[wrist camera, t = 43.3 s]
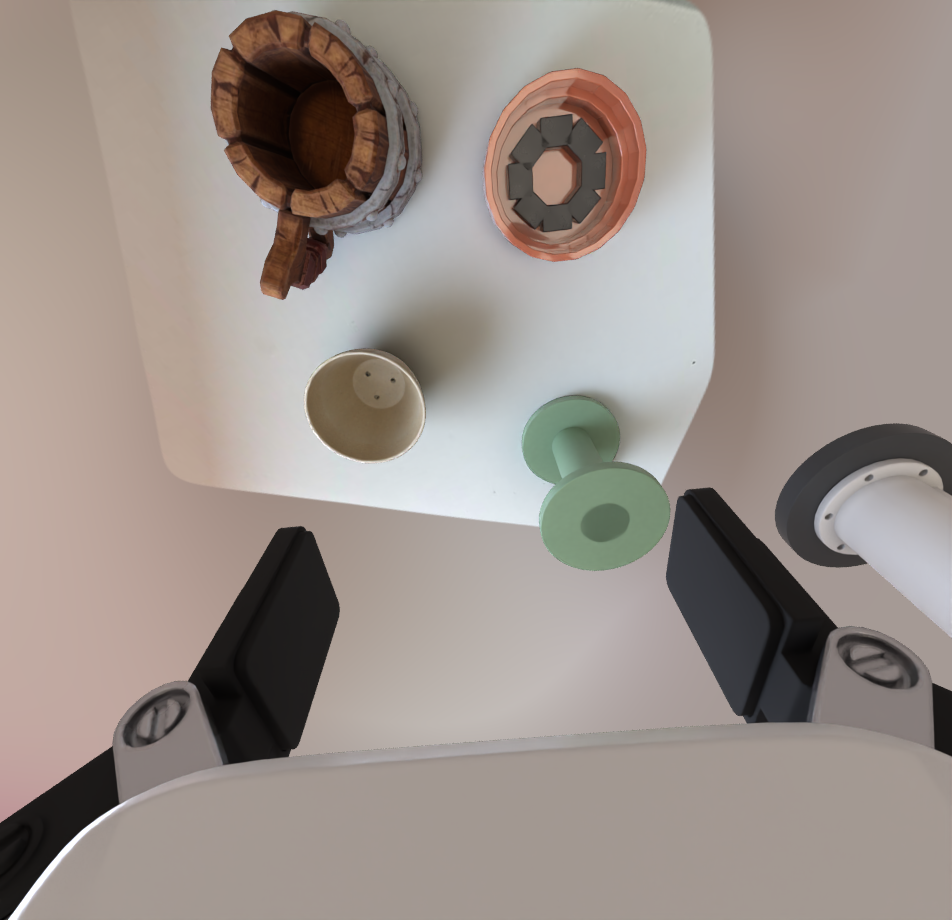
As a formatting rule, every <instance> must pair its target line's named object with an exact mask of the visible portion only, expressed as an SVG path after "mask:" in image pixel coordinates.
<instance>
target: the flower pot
mask: <svg viewBox="0 0 952 920" xmlns="http://www.w3.org/2000/svg"><path fill="white" fill-rule="evenodd" d="M366 374H368V375H369V376H367V375H366ZM392 378H394V380H391V379H392ZM377 396H379V398H377ZM304 408H305V413H306V417H307V420H308V422H309V424H310V427H311V428H312V430H313V432H314V433H315V435H316V436H317V437H318V439H319V440H320V441H321V442H322V443H323V444H324V445H325V446H326V447H328V448H329V449H330V450H332V451H333V452H335V453H336V454H338V455H340V456H342V457H344V458H346V459H349V460H352V461H356V462H361V463H382V462H387V461H390V460H393V459H395V458H398V457H400V456H401V455H403V454H405V453H406V452H407V451H409V450H410V449H411V448H412V447H413V445H414V444H415V443H416V442H417V440H418V439H419V437H420V435H421V433H422V431H423V428H424V424H425V418H426V408H425V400H424V395H423V392H422V389H421V387H420V384H419V382H418V380H417V378H416V377H415V375H414V374H413V372H412V371H411V370H410V368H409V367H408V366H407V365H406V364H405V363H404V362H402V361H401V360H400V359H398V358H397V357H395V356H393V355H392V354H389V353H387V352H384V351H381V350H376V349H366V348H365V349H354V350H349V351H345V352H342V353H340V354H337V355H335V356H333V357H331V358H329V359H328V360H326V361H325V362H323V363H322V364H321V365H320V366H319V367H318V368H317V369H316V370H315V371H314V372H313V373H312V375H311V377H310V379H309V381H308V383H307V386H306V390H305V395H304Z"/></svg>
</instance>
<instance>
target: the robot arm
mask: <svg viewBox="0 0 952 920" xmlns="http://www.w3.org/2000/svg"><path fill="white" fill-rule="evenodd" d="M814 527H815V532H816V534H817V536H818V538H819V539H820V540H821V541H822V542H823V543H824V544H825V545H826V546H827V547H829V548H830V549H832V550H834V551H836V552H839V553H843V554H852V555H859V556H860V557H861V558H862V559H864V560H865V561H866V562H867V563H868V564H870V566H871V567H873V568H874V569H875V570H876V571H877V572H878V573H879V574H881V575H882V576H883V577H884V578H885V579H886V580H887V581H888V582H889V583H890V584H892V585H893V586H894V587H895V588H896V589H897V590H898V591H899V592H901V593H902V594H903V595H904V596H905V597H906V598H907V599H908V600H910V601H911V602H912V603H913V604H914V605H915V606H916V607H917V608H918V609H920V610H921V611H922V612H923V613H924V614H925V615H926V616H927V617H928V618H930V619H931V620H932V621H933V622H934V623H935V624H936V625H938V627H940V628H941V629H942V630H943V631H944V632H945V633H946V634H948V635H949V636H950V637H951V638H952V496H951V495H950V494H948V493H946V492H945V491H943V483H942V479H941V477H940V476H939V474H938V473H937V472H936V471H935V470H934V469H932V468H931V467H929V466H927V465H926V464H924V463H922V462H920V461H916V460H913V459H904V458H898V459H888V460H884V461H880V462H876V463H873V464H870V465H868V466H865V467H863V468H861V469H859V470H857V471H855V472H853V473H851V474H850V475H848V476H847V477H845V478H844V479H842V480H841V481H840V482H839V483H838V484H836V485H835V486H834V487H833V488H832V489H831V490H830V491H829V492H828V494H827V495H826V496H825V497H824V499H823V500H822V502H821V503H820V505H819V507H818V509H817V512H816V514H815V520H814ZM666 580H667V585H668V588H669V590H670V592H671V594H672V596H673V598H674V599H675V601H676V603H677V605H678V607H679V609H680V611H681V613H682V615H683V617H684V618H685V620H686V622H687V624H688V626H689V628H690V630H691V632H692V634H693V636H694V638H695V640H696V641H697V643H698V645H699V647H700V649H701V651H702V653H703V655H704V657H705V659H706V661H707V662H708V664H709V666H710V668H711V670H712V672H713V674H714V676H715V678H716V680H717V681H718V683H719V685H720V687H721V689H722V691H723V693H724V695H725V697H726V699H727V701H728V702H729V704H730V706H731V708H732V709H733V711H734V712H735V714H736V715H738V716H743V717H744V719H745V720H746V722H747V724H730V725H710V726H690V727H675V728H662V729H646V730H632V731H618V732H603V733H589V734H574V735H561V736H547V737H534V738H519V739H507V740H506V739H505V740H493V741H479V742H465V743H452V744H439V745H427V746H414V747H401V748H389V749H376V750H363V751H351V752H338V753H326V754H317V755H306V756H296V757H289V754H290V751H291V749H295V748H297V746H298V744H299V742H300V739H301V736H302V733H303V730H304V727H305V723H306V720H307V717H308V713H309V711H310V707H311V704H312V701H313V698H314V695H315V691H316V688H317V685H318V682H319V679H320V676H321V672H322V669H323V666H324V663H325V660H326V656H327V653H328V650H329V647H330V644H331V641H332V637H333V634H334V631H335V628H336V625H337V621H338V618H339V612H340V607H339V602H338V599H337V597H336V594H335V591H334V589H333V586H332V584H331V581H330V578H329V576H328V573H327V570H326V567H325V564H324V562H323V559H322V556H321V554H320V551H319V549H318V546H317V543H316V540H315V538H314V535H313V533H312V532H311V531H306V529H305V528H304V527H302V526H299V527H288V528H280V529H278V531H277V532H276V533H275V535H274V537H273V538H272V540H271V542H270V544H269V545H268V547H267V549H266V550H265V552H264V554H263V556H262V557H261V559H260V561H259V562H258V564H257V566H256V567H255V569H254V571H253V573H252V574H251V576H250V578H249V579H248V581H247V583H246V584H245V586H244V588H243V589H242V590H241V592H240V593H239V595H238V597H237V598H236V600H235V602H234V604H233V605H232V607H231V609H230V610H229V612H228V614H227V616H226V617H225V619H224V621H223V622H222V624H221V626H220V627H219V629H218V631H217V632H216V634H215V636H214V638H213V639H212V641H211V643H210V644H209V646H208V648H207V649H206V651H205V653H204V655H203V656H202V658H201V660H200V661H199V663H198V665H197V666H196V668H195V670H194V671H193V673H192V675H191V677H190V678H189V680H188V681H174V682H171V683H167V684H164V685H162V686H160V687H158V688H156V689H154V690H152V691H150V692H149V693H147V694H146V695H144V696H143V697H142V698H140V699H139V700H138V701H137V702H136V703H135V704H134V705H133V706H132V707H130V708H129V709H128V710H127V712H126V713H125V715H124V716H123V717H122V718H121V720H120V721H119V723H118V725H117V727H116V730H115V732H114V737H113V746H112V747H111V748H109V749H108V750H106V751H105V752H103V753H102V754H100V755H99V756H97V757H96V758H94V759H93V760H92V761H90V762H89V763H87V764H86V765H84V766H83V767H81V768H80V769H78V770H77V771H76V772H74V773H73V774H71V775H70V776H68V777H67V778H65V779H64V780H62V781H61V782H60V783H58V784H56V785H55V786H53V787H52V788H51V789H49V790H48V791H46V792H45V793H43V794H42V795H40V796H39V797H37V798H36V799H34V800H33V801H32V802H30V803H29V804H27V805H26V806H24V807H23V808H21V809H20V810H18V811H17V812H16V813H14V814H13V815H11V816H10V817H8V818H7V819H5V820H4V821H2V822H1V823H0V920H952V691H950V690H948V689H945V688H943V687H941V686H938V685H936V684H934V683H932V680H931V676H930V673H929V670H928V669H927V667H926V666H925V665H924V663H923V662H922V660H921V659H920V658H919V657H918V656H917V655H916V654H915V653H913V652H912V651H911V650H910V649H909V648H907V647H906V646H905V645H903V644H902V643H900V642H899V641H897V640H895V639H894V638H892V637H889V636H887V635H885V634H883V633H880V632H878V631H875V630H871V629H867V628H864V627H854V626H847V627H841V628H838V627H837V626H836V625H835V624H834V623H833V622H832V621H831V619H829V617H828V616H827V615H826V614H825V613H824V612H823V610H822V609H821V608H820V607H819V606H818V605H817V603H816V602H815V601H814V600H813V599H812V598H811V597H810V595H809V594H808V593H807V592H806V591H805V590H804V589H803V587H802V586H801V585H800V584H799V583H798V582H797V581H796V579H795V578H794V577H793V576H792V575H791V574H790V573H789V571H788V570H787V569H786V568H785V567H784V566H783V565H782V563H781V562H780V561H779V560H778V559H777V558H776V557H775V555H774V554H773V553H772V552H771V551H770V550H769V549H768V547H767V546H766V545H765V544H764V543H763V542H762V541H760V539H758V538H756V537H755V536H754V535H753V533H752V532H751V531H750V530H749V529H748V528H747V527H746V525H745V524H744V523H743V522H742V521H741V520H740V519H739V517H738V516H737V515H736V514H735V513H734V512H733V511H732V509H731V508H730V507H729V506H728V505H727V504H726V502H725V501H724V500H723V499H722V498H721V497H720V495H719V494H718V493H717V492H716V491H715V490H714V489H713V488H700V489H689V490H687V491H686V492H685V493H684V496H680V497H679V498H678V500H677V505H676V512H675V519H674V525H673V532H672V539H671V545H670V552H669V558H668V565H667V572H666Z"/></svg>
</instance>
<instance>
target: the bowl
mask: <svg viewBox="0 0 952 920" xmlns="http://www.w3.org/2000/svg"><path fill="white" fill-rule="evenodd" d="M567 114H573V124H574V123H575V122H576V121H577V120H578V119H580V118H582V119H583V120H584V121H585V122H586V123H587V124H588V125H589V126H590V128H591V129H592V130H593V131H594V132H595V133H596V134H597V136H598V137H599V138H600V139H601V140H602V141H603V144H602V145H601V146H600V147H599V149H598V150H597V151H596V153H600V152H606V179H605V189H599V190H594V191H595V192H596V193H597V194H598V195H599V196H600V197H601V199H600V201H599V202H598V203H597V204H596V205H595V207H594V208H593V209H592V210H591V212H590V213H589V214H588V215H587V216H586V218H585V219H584V220H583V221H582V223H581V224H576V223H574V222H573V221H572V229H569V230H560V231H552V232H541V231H540V225H539V226H538V227H537V228H536V229H532V228H531V227H530V226H529V225H528V224H527V223H526V222H525V221H524V220H523V219H522V218H521V217H520V216H519V215H518V214H517V213H516V212H515V211H513V210H512V207H513V206H514V204H515V203H516V202H517V200H518V199H516V200H508V193H507V176H506V166H507V165H508V164H511V163H515V162H514V161H513V160H512V159H511V158H510V157H509V155H510V153H511V152H512V150H513V149H514V148H515V146H516V145H517V143H518V142H519V140H520V139H521V138H522V136H523V135H524V133H525V132H526V130H527V129H528V128H529V126H530V125H531V124H533V125H534V126H535V127H536V128H537V122H538V120H539V119H540V118H544V117H551V116H559V115H567ZM645 162H646V144H645V139H644V134H643V129H642V124H641V120H640V117H639V115H638V114H637V112H636V110H635V108H634V107H633V105H632V103H631V101H630V99H629V98H628V96H627V94H626V93H625V92H624V91H623V90H621V89H620V88H619V87H618V86H617V85H615V84H614V83H613V82H612V81H610V80H609V79H608V78H607V77H606V76H604V75H601V74H597V73H594V72H590V71H587V70H584V69H580V68H574V69H567V70H559V71H552V72H549V73H547V74H545V75H544V76H542V77H540V78H538V79H536V80H535V81H533V82H531V83H529V84H527V85H526V86H525V87H523V88H522V89H521V91H520V92H519V93H518V94H517V95H516V96H515V97H514V98H513V99H512V101H511V102H510V103H509V104H508V105H507V106H506V107H505V108H504V110H503V111H502V114H501V116H500V118H499V120H498V122H497V124H496V126H495V128H494V130H493V132H492V134H491V136H490V139H489V142H488V145H487V150H486V155H485V161H484V166H483V174H482V175H483V188H484V198H485V202H486V204H487V207H488V210H489V212H490V215H491V218H492V220H493V222H494V224H495V225H496V226H497V228H498V229H499V230H500V231H501V233H502V234H503V235H504V237H505V238H506V239H507V240H508V241H509V242H510V243H511V244H513V245H514V246H516V247H517V248H519V249H520V250H522V251H523V252H525V253H526V254H528V255H529V256H532V257H535V258H539V259H543V260H548V261H552V262H553V261H554V262H557V261H565V260H574V259H578V258H580V257H582V256H585V255H587V254H589V253H591V252H593V251H595V250H597V249H599V248H601V247H602V246H603V245H604V244H605V243H606V242H607V241H608V240H609V239H611V238H612V237H613V236H614V235H615V234H616V233H617V232H618V231H619V230H620V229H621V227H622V226H623V224H624V223H625V221H626V220H627V218H628V217H629V215H630V213H631V212H632V210H633V209H634V207H635V205H636V202H637V199H638V196H639V193H640V190H641V187H642V184H643V181H644V176H645ZM532 172H533V192H534V193H535V194H536V195H537V196H538V197H539V198H540V199H541V200H542V201H543V202H544V203H545V204H546V205H553V204H561V203H564V201H565V200H566V199H567V198H568V196H569V195H570V194H571V193H572V191H573V190H574V189H575V187H576V181H577V163H576V162H575V161H574V160H573V159H572V158H571V157H570V156H569V155H568V153H567V152H566V151H565V150H564V149H563V148H561V149H553V150H545V151H544V152H543V154H542V155H541V156H540V158H539V159H538V160H537V162H536V163H535V165H534V166H533V167H532Z"/></svg>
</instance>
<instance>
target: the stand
mask: <svg viewBox="0 0 952 920" xmlns="http://www.w3.org/2000/svg"><path fill="white" fill-rule="evenodd" d="M619 442H620V432H619V427H618V424H617V422H616V420H615V418H614V417H613V415H612V414H611V412H610V411H609V410H608V409H607V408H606V407H605V406H604V405H603V404H601V403H600V402H598V401H596V400H594V399H591V398H588V397H584V396H566V397H561V398H558V399H555V400H553V401H550V402H548V403H547V404H545V405H543V406H542V407H541V408H539V409H538V410H537V411H536V412H535V413H534V414H533V415H532V417H531V418H530V419H529V421H528V422H527V424H526V426H525V428H524V432H523V436H522V451H523V455H524V458H525V461H526V463H527V465H528V467H529V468H530V469H531V471H532V472H533V473H534V474H536V475H537V476H538V477H540V478H541V479H543V480H545V481H547V482H550V483H553V484H555V486H554V487H553V488H552V489H551V490H550V491H549V493H548V494H547V496H546V497H545V499H544V501H543V504H542V506H541V509H540V514H539V526H540V532H541V536H542V539H543V542H544V544H545V546H546V548H547V549H548V550H549V552H550V553H551V554H552V555H553V556H554V557H556V558H557V559H558V560H559V561H561V562H563V563H564V564H566V565H569V566H571V567H574V568H578V569H582V570H592V571H597V570H598V571H599V570H608V569H614V568H618V567H621V566H624V565H627V564H629V563H631V562H634V561H635V560H637V559H639V558H641V557H642V556H643V555H645V554H647V553H648V552H649V551H650V550H651V549H652V548H653V547H654V546H655V545H656V544H657V543H658V542H659V540H660V539H661V538H662V536H663V535H664V533H665V531H666V529H667V526H668V523H669V519H670V503H669V500H668V496H667V494H666V493H665V491H664V489H663V488H662V486H661V485H660V483H659V482H658V481H657V479H656V478H655V477H654V476H653V475H651V474H650V473H649V472H647V471H646V470H644V469H642V468H640V467H638V466H635V465H632V464H628V463H623V462H612V460H613V459H614V457H615V455H616V453H617V450H618V447H619Z"/></svg>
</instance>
